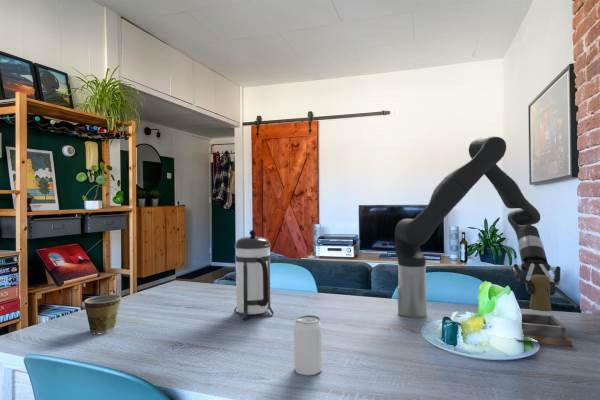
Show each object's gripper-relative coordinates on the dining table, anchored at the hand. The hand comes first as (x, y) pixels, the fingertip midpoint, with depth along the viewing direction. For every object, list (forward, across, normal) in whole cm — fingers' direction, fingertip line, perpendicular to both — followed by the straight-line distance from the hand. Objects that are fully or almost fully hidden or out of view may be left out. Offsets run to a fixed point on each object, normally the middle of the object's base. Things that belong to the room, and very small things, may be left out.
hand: (541, 293), depth 114 cm
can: (+46, -61, -32) cm, 83 cm away
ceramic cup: (+44, -132, -28) cm, 142 cm away
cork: (+3, 0, +5) cm, 6 cm away
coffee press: (+23, -92, -8) cm, 95 cm away
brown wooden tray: (+16, -5, -3) cm, 17 cm away
